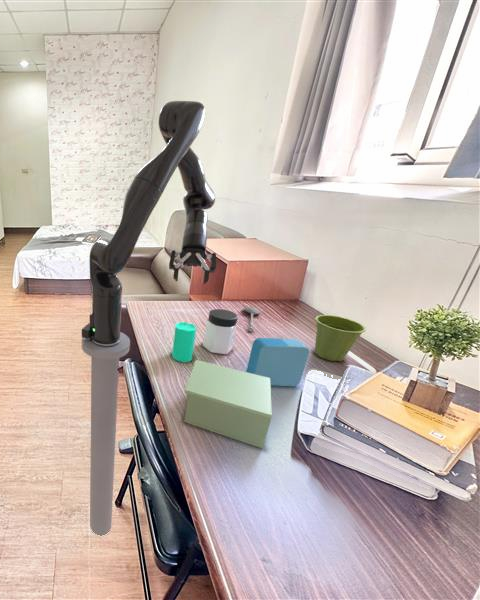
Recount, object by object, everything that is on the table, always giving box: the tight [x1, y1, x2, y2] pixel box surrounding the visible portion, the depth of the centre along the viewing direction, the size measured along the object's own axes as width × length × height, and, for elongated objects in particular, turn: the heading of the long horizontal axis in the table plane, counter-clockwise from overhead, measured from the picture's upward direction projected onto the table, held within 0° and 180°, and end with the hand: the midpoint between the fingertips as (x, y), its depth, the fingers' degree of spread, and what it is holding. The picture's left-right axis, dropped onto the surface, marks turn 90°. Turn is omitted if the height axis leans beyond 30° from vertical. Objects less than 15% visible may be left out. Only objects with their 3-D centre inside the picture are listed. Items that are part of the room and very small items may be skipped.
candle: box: [171, 321, 197, 363], centre depth 93 cm, size 6×6×12 cm
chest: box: [183, 394, 272, 449], centre depth 71 cm, size 16×14×8 cm
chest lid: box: [184, 359, 273, 419], centre depth 69 cm, size 16×14×1 cm
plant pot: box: [314, 314, 367, 362], centre depth 93 cm, size 12×12×11 cm
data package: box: [245, 337, 310, 387], centre depth 82 cm, size 12×4×12 cm, turn 86°
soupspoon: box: [242, 306, 262, 333], centre depth 119 cm, size 22×3×7 cm
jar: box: [202, 308, 239, 355], centre depth 98 cm, size 9×8×12 cm
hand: (190, 281), depth 98 cm, fingers open, 8 cm apart
